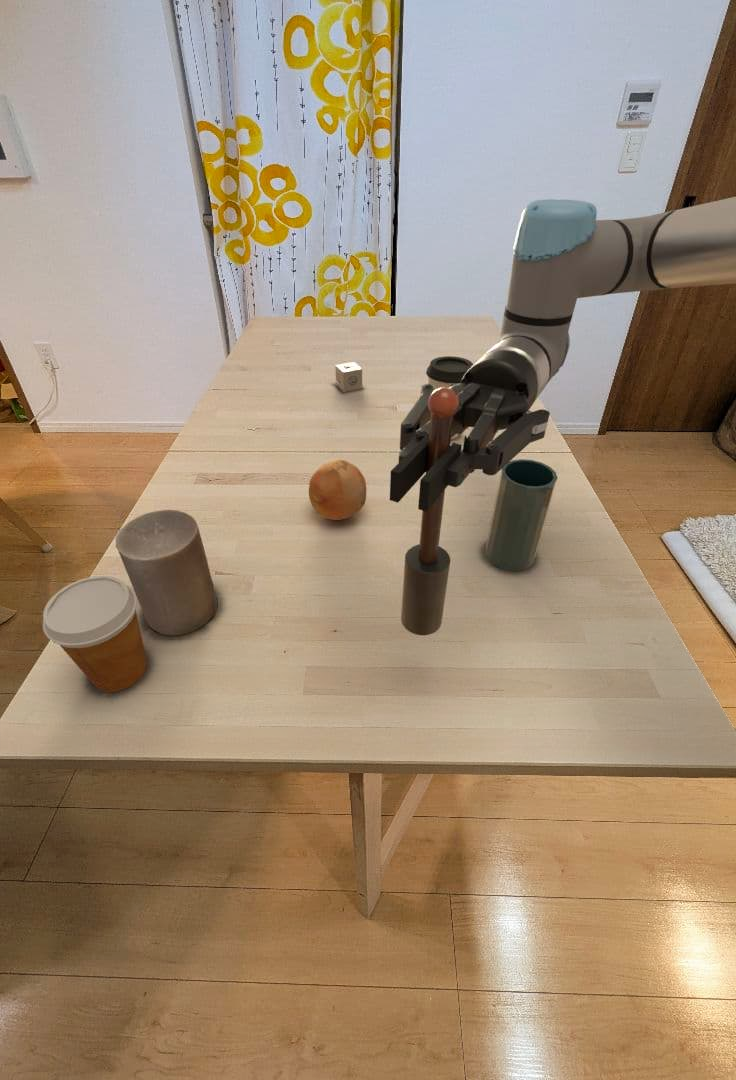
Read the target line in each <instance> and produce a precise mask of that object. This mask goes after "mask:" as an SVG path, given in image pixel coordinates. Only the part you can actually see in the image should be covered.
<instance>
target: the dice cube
mask: <svg viewBox="0 0 736 1080" xmlns="http://www.w3.org/2000/svg"><path fill="white" fill-rule="evenodd" d="M334 369H335V385H336V386H337V387H338V388H339V389H340V390H341V392H343V393H345V392H346V393H348V392H352V391H357V390H362V389H363V368H362V367H360V366H359V365H358V364H357V363H356V362H354V361H352V362H346V363H345V362H344V363H340V364H335V368H334ZM336 381H337V382H338V383H339V384H338V383H337V382H336Z"/></svg>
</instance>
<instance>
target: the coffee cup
mask: <svg viewBox="0 0 736 1080" xmlns="http://www.w3.org/2000/svg"><path fill="white" fill-rule="evenodd" d="M473 365H474V363H473V362H472V361H471V360H469V359H466V358H464V357H459V356H451V355H449V356H448V355H447V356H438V357H436V358H435V357H434V358H433V359H432V360H431V361H430V362H429V365H428V366H427V368H426V371H425V374H426V376H427V380H428V382H427V384H430V385H432V386H433V388H434V390H436V389H439V388H443V387H446V388H450V387H452V386H455V385H458V384H459V383H460V381H461V380H462V378H463V376H464V375H465V374H466V372H467V371H468V370H469V369H470V368H471V367H472V366H473ZM459 435H460V434H455V435H454V436H453V437H452V438H451V440H454V439H456V438H458V436H459Z"/></svg>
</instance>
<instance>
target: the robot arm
mask: <svg viewBox="0 0 736 1080" xmlns="http://www.w3.org/2000/svg"><path fill="white" fill-rule="evenodd" d="M597 216H598V211H597V207H596V206H595V204H594V203H592V202H589V201H586V200H585V201H584V200H577V199H555V198H554V199H553V198H552V199H551V198H549V199H538V200H537V199H536V200H534V201H531V202H530V203H528V204H527V205H526V206H525V207H524V209H523V210H522V212H521V215H520V220H519V224H518V227H517V231H516V235H515V240H514V244H513V248H512V259H511V260H512V261H511V269H510V276H509V284H508V291H507V298H506V305H505V307H504V311H503V312H504V313H503V317H502V323H501V328H500V334H499V335H500V336H499V340H498V342H497V343H495V345H493V346H492V347H491V348H490V349H489V350H488V351H487V352H485V353H484V354H483V355H482V356H481V357H480V358H479V359H478V360H477V361H476V362H475V363H473V366H472V367H471V368H470V369H469V370H468V371H467V372H466V374H465V375H464V376H463V378H462V380H461V381H460V383H459V384H458V385H455V386H452V387H450V389H452V390H453V391H454V392H455V393H456V394H457V396H458V398H459V407H458V410H457V412H456V413H455V414H454V418H453V426H452V435H451V438H452V437H453V436H454V435H455V434H459V435H461V434H463V433H464V432H465V431H466V430H468V428H472V429H471V431H470V432H469V434H468V435H466V434H464V439H463V445H462V444H459V443H455V442H452V444H450V448H448V449H447V450H446V451H445V453H444V454H443V455H442V456H441V457H440V458H439V459H438V461H437V462H436V463H435V464H434V465H433V466H432V467H431V468H430V470H429V471H428V472H427V473H426V465H427V453H428V442H429V430H430V419H431V412H430V411H429V408H428V400H429V397H430V395H431V394H432V393H433V392H434V391H435V390H434V388H433V386H432V385H430V384H428V383H425V384H422V385H421V386H420V396H419V398H418V399H417V400H416V401H415V403H414V405H413V406H412V408H411V409H410V410H409V411H408V413H407V414H406V416H404V418H403V420H402V421H401V423H400V434H399V435H400V436H399V450H400V451H399V452H398V463H397V464H396V465H395V466H394V467H393V468H392V469H391V470H390V480H389V481H390V482H389V501H392V502H395V503H397V504H398V503H399V502H401V501H402V500H403V498H404V497H405V496H406V495H407V494H408V492H409V491H410V490H411V489H412V488H413V487H414V486H415V484H417V482H418V481H419V480H420V481H419V493H418V494H419V495H418V507H417V509H418V510H420V511H421V512H422V511H426V512H427V511H428V510H429V509H430V508H431V506H432V505H433V504H434V502H435V501H436V500H437V499H438V497H439V496H440V495H441V494H442V492H443V491H444V490H445V491H446V489H447V488H448V487H453V488H457V487H459V486H461V485H462V484H463V482H464V481H465V479H466V478H467V477H468V476H469V474H472V473H474V472H475V471H476V470H482V474H484V475H486V476H495V475H497V474H498V473H499V472H501V469H502V468H503V467H504V466H505V465H506V464H507V463H508V462H510V461H512V460H514V458H515V457H516V456H517V455H519V453H520V452H522V451H523V450H524V449H525V448H526V447H528V446H529V445H530V444H531V443H534V442H537V441H539V440H542V439H544V438H545V435H546V431H547V427H548V423H549V418H550V415H551V412H550V411H549V410H546V409H538V410H534V411H532V410H530V409H531V408H532V406H533V405H534V403H535V402H536V401H537V400H538V398H539V396H540V395H541V394H542V393H543V391H544V390H545V388H546V387H547V385H548V384H549V383H550V381H551V380H552V379H553V377H555V376H556V374H557V373H558V372H560V369H561V368H562V367H563V365H564V364H565V360H566V359H567V357H568V352H569V349H570V345H571V343H570V342H571V340H570V339H571V338H570V333H569V331H570V326H571V323H572V320H573V316H574V312H575V308H576V304H577V301H578V299H583V298H591V297H598V296H599V297H601V296H607V295H613V294H625V293H634V292H646V291H647V292H648V291H659V290H668V289H669V290H670V289H678V288H691V287H692V288H693V287H704V286H716V285H717V286H718V285H720V286H721V285H731V284H736V196H732V197H729V198H723V199H718V200H715V201H709V202H706V203H701V204H697V205H692V206H688V207H684V208H680V209H676V210H675V209H674V210H669V211H666V212H659V213H656V214H651V215H646V216H641V217H640V216H639V217H632V218H631V217H630V218H622V219H597ZM502 430H503V431H502ZM499 431H502V432H501V433H500V434H498V435H496V434H497V433H498V432H499Z"/></svg>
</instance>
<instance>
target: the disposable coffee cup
mask: <svg viewBox="0 0 736 1080" xmlns="http://www.w3.org/2000/svg"><path fill="white" fill-rule="evenodd" d="M137 605H138V599H137V597H136V594H135V591H134V589H133V588H131V587H130V586H129V585H128V584H126V583H125V582H124V581H122V580H121V579H120V578H117V577H115V576H109V575H95V576H89V577H85V578H82V579H78V580H76V581H73V582H71V583H69V584H67V585H66V586H63V587H62V588H61V589H60V590H59V591H58V592H56V593H55V594H54V595H52V596H51V598H50V599H49V600H48V601H47V603H46V605H45V607H44V609H43V614H42V619H43V620H42V630H43V633H44V635H45V636H46V637H47V638H48V639H49V640H50V641H51V642H53V643H54V644H57V645H58V646H59V647H60V648H61V649H62V650H63V651H64V652H65V653H66V655H68V657H69V658H70V659H71V660H72V661H73V662H74V664H75V665H76V666H77V667H78V668H79V669H80V670H81V671H82V672H83V674H84V675H85V676H86V678H88V680H89V681H90V682H91V683H92V684H93V686H94V687H96V689H98V690H99V691H101V692H105V693H116V692H121V691H123V690H126V689H128V688H130V687H132V686H133V685H134V684H136V683H137V682H139V680H141V678H142V677H143V676H144V674H145V672H146V671H147V666H148V660H147V657H146V656H147V655H146V652H145V647H144V643H143V638H142V633H141V628H140V624H139V623H140V622H139V619H138V614H137V607H138V606H137Z"/></svg>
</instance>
